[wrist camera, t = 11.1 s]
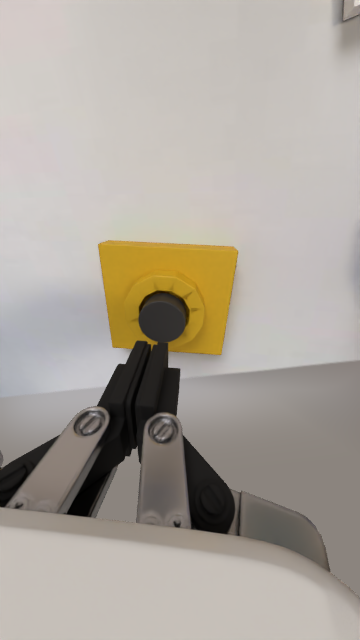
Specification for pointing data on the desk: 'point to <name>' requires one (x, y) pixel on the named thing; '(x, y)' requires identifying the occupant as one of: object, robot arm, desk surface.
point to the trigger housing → (169, 290)
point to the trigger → (163, 317)
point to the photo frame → (351, 8)
